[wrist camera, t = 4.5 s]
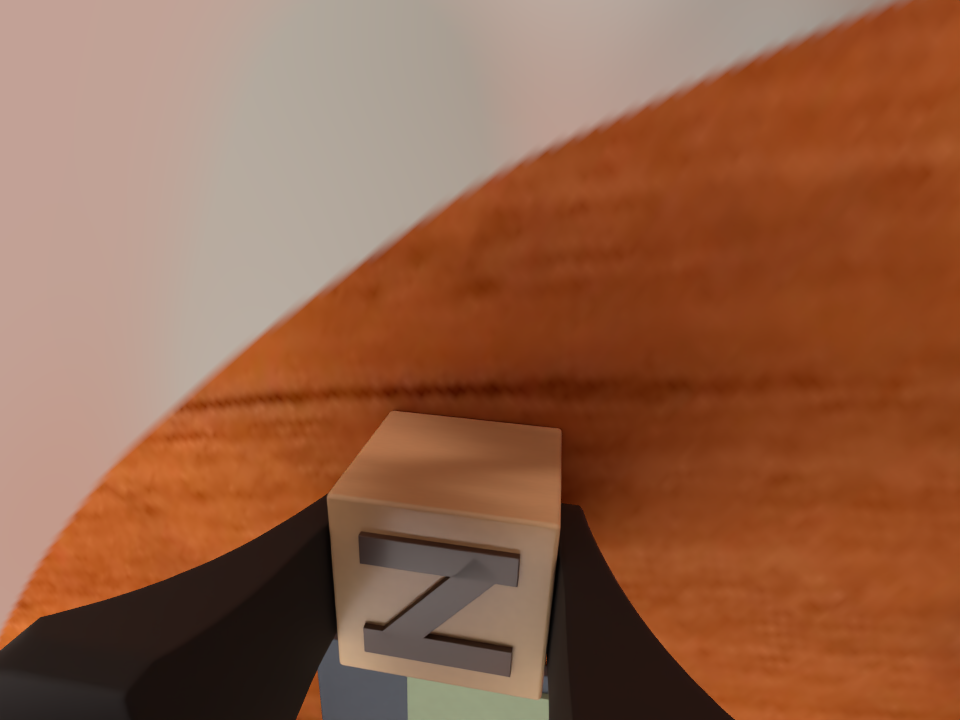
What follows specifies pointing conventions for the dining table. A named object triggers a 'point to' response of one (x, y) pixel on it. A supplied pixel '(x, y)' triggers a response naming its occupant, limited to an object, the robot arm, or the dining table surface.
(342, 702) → the word mat
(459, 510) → the tile
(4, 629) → the dining table surface
